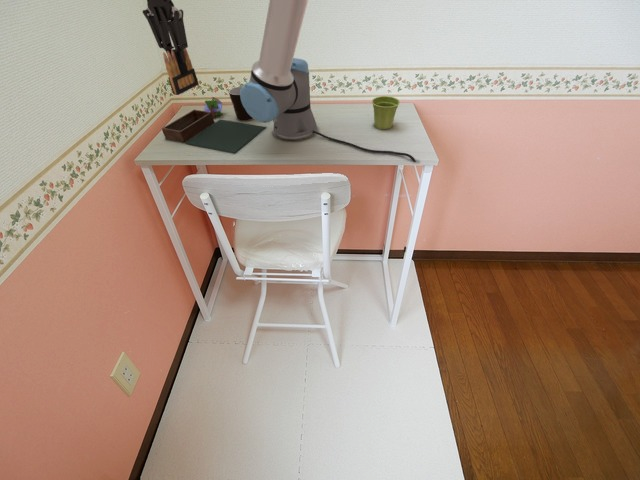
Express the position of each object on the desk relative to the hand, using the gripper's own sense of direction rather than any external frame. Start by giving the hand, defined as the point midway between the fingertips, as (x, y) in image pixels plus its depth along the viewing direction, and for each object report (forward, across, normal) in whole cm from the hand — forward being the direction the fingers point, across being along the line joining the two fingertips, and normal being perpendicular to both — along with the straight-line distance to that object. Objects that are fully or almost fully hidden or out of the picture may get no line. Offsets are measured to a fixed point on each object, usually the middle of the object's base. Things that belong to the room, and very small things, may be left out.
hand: (181, 73), depth 106 cm
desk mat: (+20, -11, -1) cm, 23 cm away
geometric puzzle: (+20, +3, -14) cm, 24 cm away
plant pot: (+21, -61, -26) cm, 69 cm away
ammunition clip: (+5, 0, 0) cm, 5 cm away
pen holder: (+20, +4, 0) cm, 20 cm away
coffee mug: (+20, -9, -18) cm, 28 cm away
